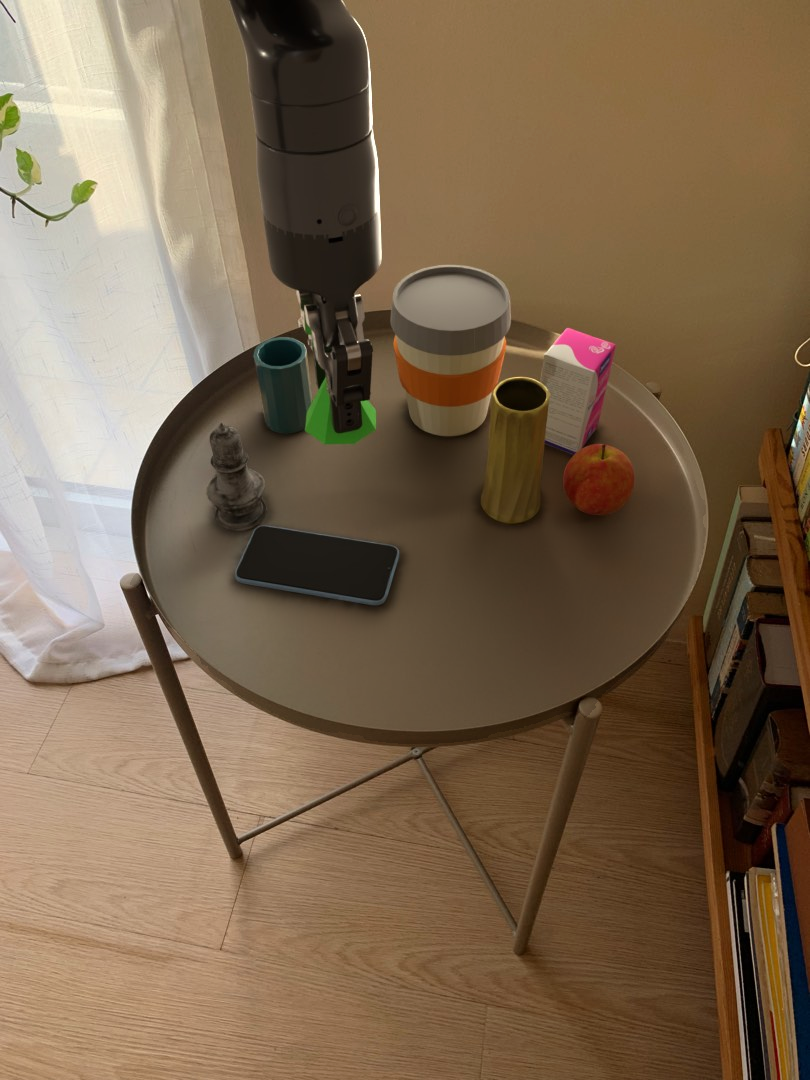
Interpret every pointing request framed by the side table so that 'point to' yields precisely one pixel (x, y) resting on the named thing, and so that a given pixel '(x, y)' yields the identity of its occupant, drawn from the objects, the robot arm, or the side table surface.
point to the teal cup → (283, 383)
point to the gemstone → (322, 422)
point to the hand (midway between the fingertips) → (339, 407)
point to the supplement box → (575, 388)
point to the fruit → (598, 479)
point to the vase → (515, 450)
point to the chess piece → (234, 483)
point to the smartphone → (318, 565)
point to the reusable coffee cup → (449, 344)
